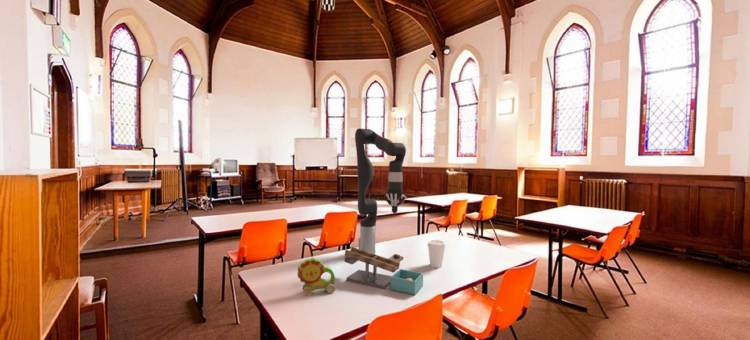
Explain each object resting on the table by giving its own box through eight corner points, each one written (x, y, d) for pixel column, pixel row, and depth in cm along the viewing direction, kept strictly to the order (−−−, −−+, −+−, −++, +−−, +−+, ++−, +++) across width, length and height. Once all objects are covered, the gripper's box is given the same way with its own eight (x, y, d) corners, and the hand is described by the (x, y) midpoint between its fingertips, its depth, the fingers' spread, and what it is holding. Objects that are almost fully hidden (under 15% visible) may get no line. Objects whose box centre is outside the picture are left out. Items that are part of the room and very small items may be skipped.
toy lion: (333, 288, 145) (333, 254, 144) (335, 293, 139) (335, 258, 139) (297, 291, 140) (297, 257, 140) (297, 297, 135) (297, 261, 134)
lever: (343, 261, 156) (345, 250, 156) (361, 251, 173) (363, 241, 172) (392, 279, 145) (394, 266, 145) (406, 266, 162) (408, 255, 161)
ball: (403, 278, 144) (412, 281, 143) (407, 275, 148) (415, 278, 146) (403, 287, 145) (411, 289, 143) (406, 284, 148) (414, 286, 146)
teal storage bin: (390, 290, 143) (391, 276, 143) (400, 281, 153) (400, 268, 153) (414, 295, 138) (415, 281, 138) (422, 285, 149) (423, 273, 148)
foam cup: (443, 263, 180) (444, 240, 179) (445, 269, 171) (446, 244, 170) (426, 262, 181) (427, 239, 180) (427, 268, 172) (428, 244, 171)
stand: (346, 280, 153) (346, 260, 152) (358, 272, 164) (359, 253, 163) (384, 289, 144) (385, 267, 144) (395, 280, 155) (395, 259, 154)
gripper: (381, 180, 171) (380, 212, 172) (404, 181, 165) (403, 215, 166) (386, 179, 177) (386, 210, 178) (409, 180, 172) (408, 213, 173)
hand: (394, 212), depth 172 cm, fingers closed
